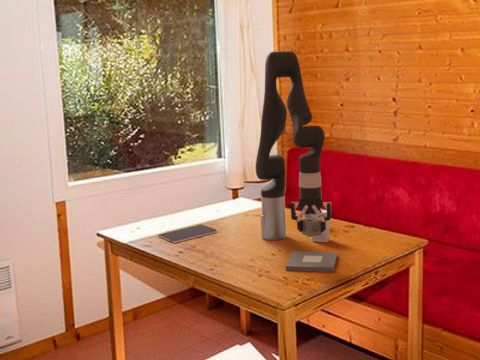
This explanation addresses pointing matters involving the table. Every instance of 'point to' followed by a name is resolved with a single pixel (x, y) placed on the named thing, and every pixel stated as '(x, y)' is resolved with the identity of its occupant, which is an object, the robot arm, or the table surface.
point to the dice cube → (311, 227)
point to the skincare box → (325, 235)
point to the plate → (312, 261)
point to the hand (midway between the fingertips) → (311, 231)
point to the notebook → (187, 233)
